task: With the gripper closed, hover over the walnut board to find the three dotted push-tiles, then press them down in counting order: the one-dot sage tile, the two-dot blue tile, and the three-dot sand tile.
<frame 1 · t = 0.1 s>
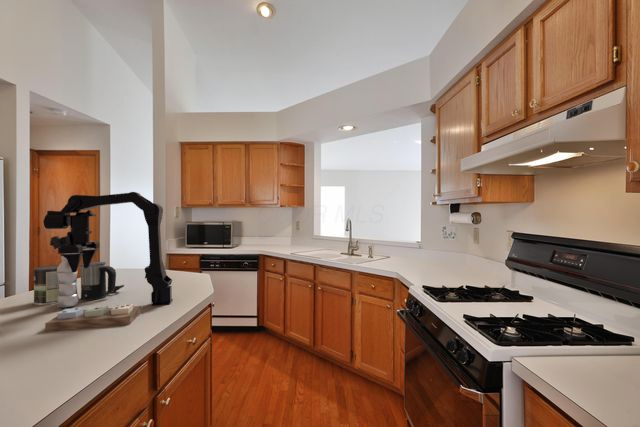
hand: (80, 270, 119), 15 cm above the counter, tool pointing down, fingers open, 9 cm apart
tile 1: (97, 311, 105), point 3 cm above the counter, slide at 0.0 cm
coffee can: (50, 302, 129), on the counter
milk frother: (103, 296, 138), on the counter
tile 2: (70, 313, 103), point 3 cm above the counter, slide at 0.0 cm
board: (97, 321, 105), on the counter
plastic bottle: (68, 307, 121), on the counter
tile 3: (122, 309, 106), point 3 cm above the counter, slide at 0.0 cm
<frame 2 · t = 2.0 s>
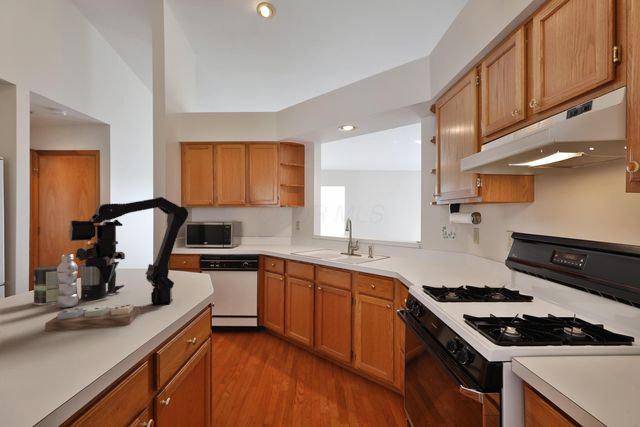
hand: (106, 283, 112), 11 cm above the counter, tool pointing down, fingers closed
nothing on the counter moved.
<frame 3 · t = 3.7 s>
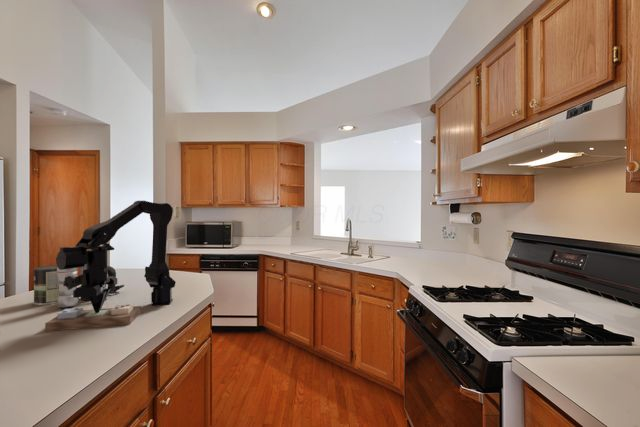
hand: (97, 312, 105), 3 cm above the counter, tool pointing down, fingers closed, pressing on tile 1
tile 1: (97, 315, 105), point 2 cm above the counter, slide at 1.3 cm, touching gripper
everything else where it was.
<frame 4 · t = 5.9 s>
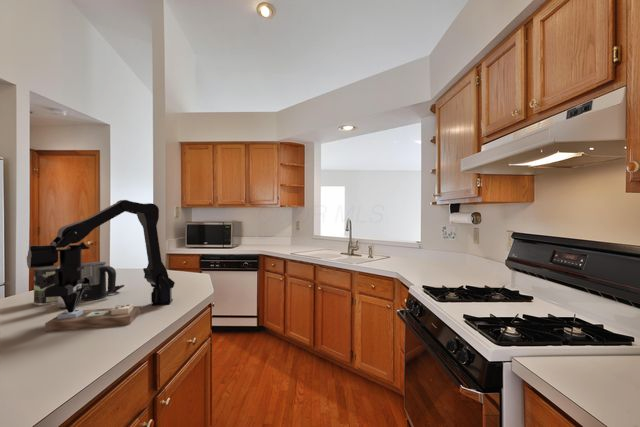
hand: (70, 312, 103), 4 cm above the counter, tool pointing down, fingers closed, pressing on tile 2
tile 1: (97, 316, 105), point 2 cm above the counter, slide at 1.6 cm
tile 2: (70, 314, 103), point 3 cm above the counter, slide at 0.5 cm, touching gripper
everything else where it was.
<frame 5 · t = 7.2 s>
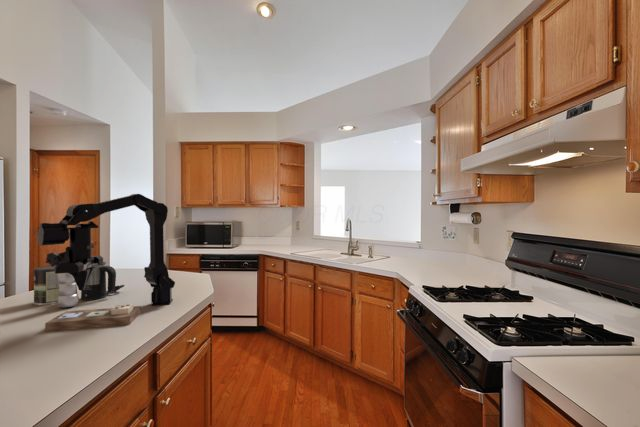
hand: (81, 290, 104), 11 cm above the counter, tool pointing down, fingers closed
tile 2: (70, 318, 103), point 2 cm above the counter, slide at 1.5 cm
everything else where it was.
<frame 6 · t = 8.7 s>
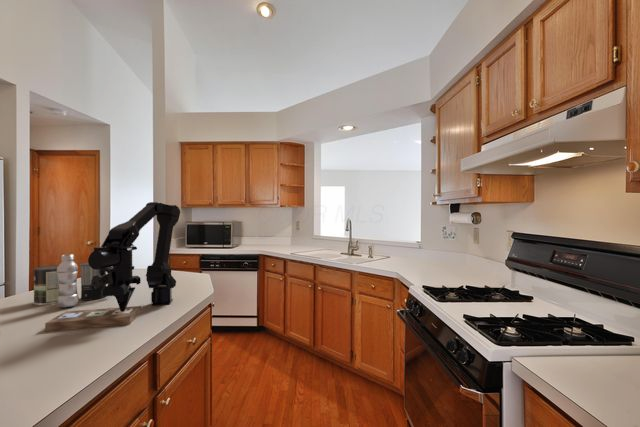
hand: (122, 310, 107), 3 cm above the counter, tool pointing down, fingers closed, pressing on tile 3
tile 3: (122, 314, 106), point 2 cm above the counter, slide at 1.5 cm, touching gripper
everything else where it was.
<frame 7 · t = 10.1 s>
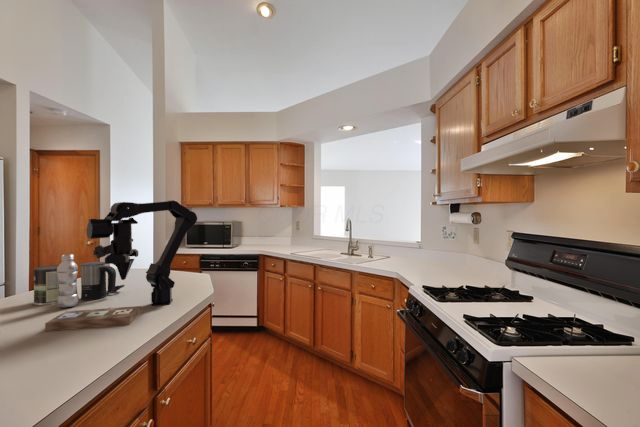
hand: (123, 279, 115), 12 cm above the counter, tool pointing down, fingers closed
tile 3: (122, 314, 106), point 2 cm above the counter, slide at 1.6 cm
everything else where it was.
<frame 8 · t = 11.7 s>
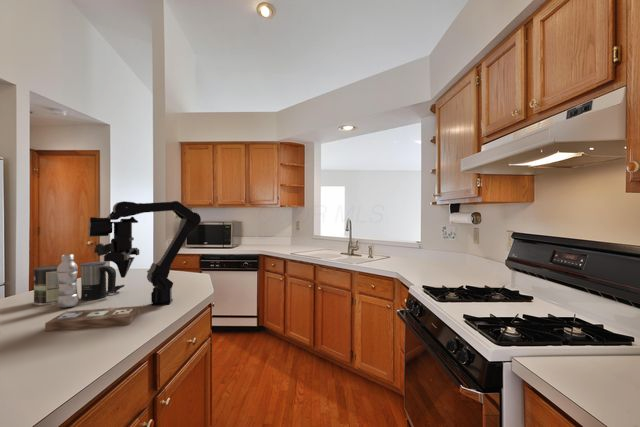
hand: (123, 277, 117), 12 cm above the counter, tool pointing down, fingers closed
nothing on the counter moved.
at the end: tile 1 slide at 1.6 cm; tile 2 slide at 1.5 cm; tile 3 slide at 1.6 cm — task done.
